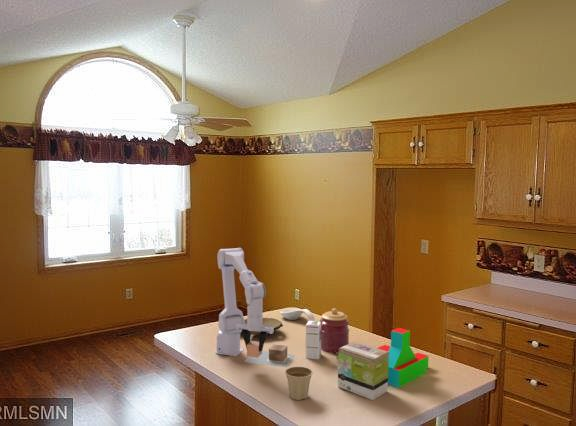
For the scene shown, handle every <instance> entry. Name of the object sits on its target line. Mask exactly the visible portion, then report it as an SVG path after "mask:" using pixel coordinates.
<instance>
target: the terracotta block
mask: <svg viewBox="0 0 576 426" xmlns="http://www.w3.org/2000/svg"><path fill="white" fill-rule="evenodd" d="M262 351H263V350H262ZM262 351H261V352H260V351H259V341H255V340H250V342H249V343H248V344H247V349H246V357H247V358H248V357H256V358H258V357H259V356H260V355H261V354H262Z"/></svg>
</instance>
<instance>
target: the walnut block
mask: <svg viewBox="0 0 576 426" xmlns="http://www.w3.org/2000/svg"><path fill="white" fill-rule="evenodd" d="M268 352H269V360H272V361H280V362H283V361H284V360H285V359H286V358H287V354H288V345H281V344H272V346H270V347H269V349H268Z"/></svg>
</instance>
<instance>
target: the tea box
mask: <svg viewBox="0 0 576 426" xmlns="http://www.w3.org/2000/svg"><path fill="white" fill-rule="evenodd" d="M388 365H389V352H388V351H384V350H381V349H378V347H374V346H370V345H367V344H364V343H361V342H357V341H351V342H349V344H348V345H345V346H343V347H341V348H339V353H338V362H337V387H338V388H340V389H344V390H346V391H348V392H351V393H354V394H356V395H358V396H361V397H364V398H366V399H368V400H371V401H374V400H375V399H378V398H379V397H381V396H382V395H383V394H385V393H387V392H388V385H389V384H388Z"/></svg>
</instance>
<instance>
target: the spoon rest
mask: <svg viewBox="0 0 576 426" xmlns="http://www.w3.org/2000/svg"><path fill="white" fill-rule="evenodd" d="M303 313H304V314H305V316H306V318H307V322H308V321H316V318H315V316H314V314H313V313H312V312H311V311H310V310H309V309H307V308H304V309H300V308H288V309H287V308H286V309H283V310H280V311H279V314H280V315H281V316H282V318H284V319H286V320H290V321H291V320H293V321H294V320H297V319H299V318H300V317H301V316H302V314H303Z"/></svg>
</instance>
